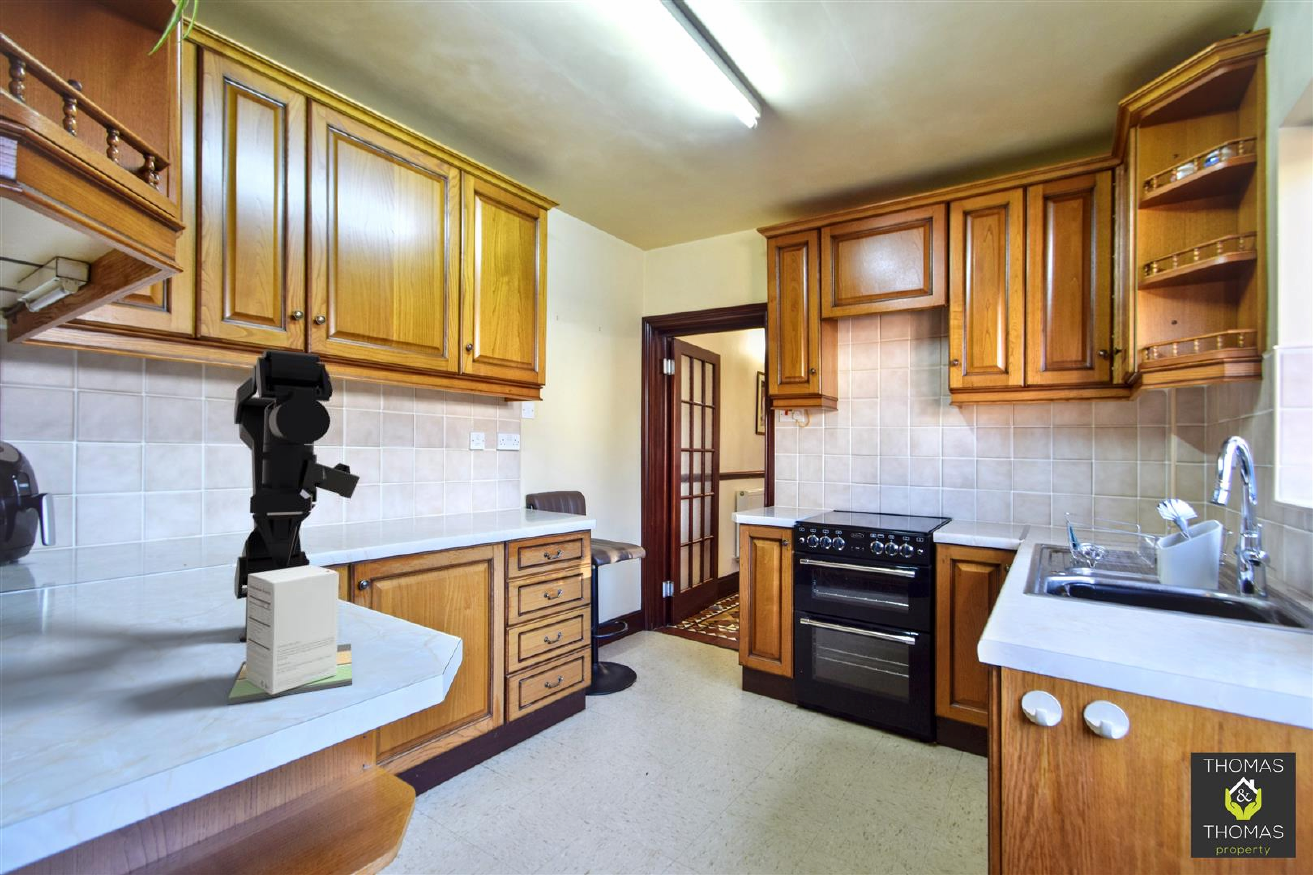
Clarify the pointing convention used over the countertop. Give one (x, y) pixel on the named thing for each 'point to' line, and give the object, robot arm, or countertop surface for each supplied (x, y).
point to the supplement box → (291, 627)
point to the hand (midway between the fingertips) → (285, 561)
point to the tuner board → (250, 692)
